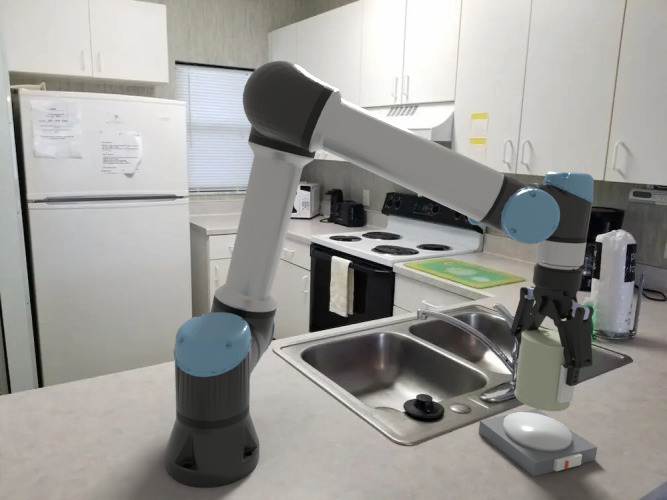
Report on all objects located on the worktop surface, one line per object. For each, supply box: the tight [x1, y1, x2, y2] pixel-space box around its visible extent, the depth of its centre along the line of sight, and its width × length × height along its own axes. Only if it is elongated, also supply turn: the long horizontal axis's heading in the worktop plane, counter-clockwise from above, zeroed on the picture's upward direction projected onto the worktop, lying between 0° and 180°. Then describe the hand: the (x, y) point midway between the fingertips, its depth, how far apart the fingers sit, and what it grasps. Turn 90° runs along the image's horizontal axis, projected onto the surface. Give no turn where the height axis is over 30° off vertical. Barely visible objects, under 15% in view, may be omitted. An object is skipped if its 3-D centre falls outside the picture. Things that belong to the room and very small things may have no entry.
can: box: [514, 327, 574, 412], centre depth 90 cm, size 9×9×12 cm
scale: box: [478, 408, 598, 477], centre depth 92 cm, size 14×15×4 cm
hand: (542, 388), depth 91 cm, fingers closed on can, 9 cm apart
